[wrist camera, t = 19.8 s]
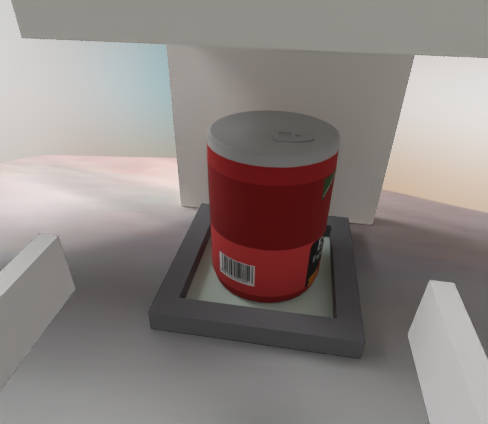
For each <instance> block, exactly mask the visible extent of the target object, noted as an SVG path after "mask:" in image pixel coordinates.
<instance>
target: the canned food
mask: <svg viewBox="0 0 488 424" xmlns="http://www.w3.org/2000/svg"><path fill="white" fill-rule="evenodd" d="M339 139H340V134H339V132H338V130H337V129H336V128H335V127H334V126H332V125H330V124H329V123H327V122H325V121H323V120H320V119H318V118H315V117H312V116H308V115H304V114H300V113H293V112H286V111H269V110H264V111H248V112H241V113H236V114H232V115H228V116H225V117H223V118H220V119H218V120H216V121H214V122H213V123H212V124H211V125H210V126H209V128H208V130H207V167H208V188H209V208H210V228H211V248H212V263H213V268H214V270H215V272H216V275H217V277H218V279H219V281H220V282H221V283H222V285H223V286H224V287H225V288H226V289H228V290H229V291H230V292H231V293H233V294H235V295H237V296H239V297H241V298H244V299H247V300H251V301H256V302H265V303H274V302H282V301H287V300H291V299H293V298H295V297H298V296H300V295H301V294H303V293H304V292H305V291H307V289H308V288H309V287H310V286H311V285H312V283H313V282H314V280H315V278H316V276H317V274H318V272H319V267H320V261H321V255H322V250H323V244H324V238H325V232H326V226H327V220H328V214H329V208H330V203H331V197H332V191H333V185H334V179H335V173H336V167H337V159H338V153H339V145H340V143H339Z"/></svg>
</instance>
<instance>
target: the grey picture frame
mask: <svg viewBox="0 0 488 424" xmlns="http://www.w3.org/2000/svg"><path fill="white" fill-rule="evenodd" d="M148 314H149V320H150V325H151V328H152V329H159V330H166V331H172V332H179V333H186V334H193V335H200V336H207V337H214V338H221V339H228V340H235V341H242V342H248V343H255V344H262V345H269V346H276V347H283V348H290V349H297V350H304V351H311V352H318V353H325V354H331V355H338V356H345V357H352V358H359V359H360V357H361V354H362V351H363V347H364V344H365V339H364V331H363V324H362V316H361V309H360V301H359V293H358V286H357V278H356V271H355V263H354V256H353V248H352V241H351V233H350V226H349V218H348V217H337V216H328V220H327V226H326V232H325V238H324V244H323V250H322V255H321V261H320V267H319V272H318V274H317V276H316V278H315V280H314V282H313V283H312V285H311V286H310V287H309V288H308V289H307V291H305V292H304V293H303V294H301V295H300V296H298V297H295V298H293V299H291V300H287V301H282V302H274V303H265V302H256V301H251V300H247V299H244V298H241V297H239V296H237V295H235V294H233V293H231V292H230V291H229V290H228V289H226V288H225V287H224V286H223V285H222V283H221V282H220V281H219V279H218V277H217V275H216V272H215V270H214V268H213V263H212V248H211V228H210V208H209V204H205V203H202V204H201V206H200V208H199V210H198V212H197V214H196V216H195V218H194V220H193V222H192V224H191V226H190V228H189V230H188V232H187V234H186V236H185V238H184V240H183V242H182V244H181V246H180V248H179V250H178V252H177V254H176V256H175V259H174V261H173V263H172V265H171V267H170V269H169V271H168V273H167V275H166V277H165V279H164V281H163V283H162V285H161V287H160V289H159V291H158V293H157V295H156V297H155V299H154V301H153V303H152V305H151V307H150V309H149V311H148Z"/></svg>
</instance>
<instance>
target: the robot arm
mask: <svg viewBox="0 0 488 424" xmlns="http://www.w3.org/2000/svg"><path fill="white" fill-rule="evenodd" d="M75 289H76V288H75V285H74V282H73V279H72V276H71V273H70V270H69V267H68V264H67V261H66V258H65V255H64V251H63V248H62V245H61V242H60V239H59V236H57V235H49V234H40V233H39V234H38V235H37V236H36V237H35V238H34V239H33V240H32V241H31V242H30V243H29V244H28V245H27V246H26V247H25V248H24V249H23V250H22V251H21V252H20V253H19V254H18V255H17V256H16V257H15V258H14V259H13V260H11V261H10V262H9V263H8V264H7V265H6V266H5V267H4V268H3V269H2V270H1V271H0V391H1V390H2V388H3V387H4V385H5V384H6V383H7V381H8V380H9V379H10V377H11V376H12V375H13V373H14V372H15V371H16V369H17V368H18V366H19V365H20V364H21V362H22V361H23V360H24V358H25V357H26V356H27V354H28V353H29V352H30V350H31V349H32V347H33V346H34V345H35V343H36V342H37V341H38V339H39V338H40V337H41V335H42V334H43V333H44V331H45V330H46V329H47V327H48V326H49V324H50V323H51V322H52V320H53V319H54V318H55V316H56V315H57V314H58V312H59V311H60V310H61V308H62V307H63V305H64V304H65V303H66V301H67V300H68V299H69V297H70V296H71V295H72V293H73V292H74V291H75ZM407 335H408V339H409V343H410V347H411V351H412V355H413V359H414V363H415V367H416V371H417V375H418V379H419V383H420V387H421V391H422V395H423V399H424V403H425V407H426V411H427V415H428V419H429V423H430V424H488V359H487V356H486V354H485V352H484V350H483V347H482V345H481V343H480V341H479V338H478V336H477V334H476V331H475V329H474V327H473V325H472V322H471V320H470V318H469V315H468V313H467V311H466V309H465V306H464V304H463V302H462V299H461V297H460V295H459V293H458V290H457V288H456V286H455V283H451V282H443V281H434V280H429V283H428V285H427V288H426V290H425V292H424V295H423V297H422V300H421V302H420V305H419V307H418V310H417V312H416V315H415V317H414V319H413V322H412V324H411V327H410V329H409V332H408V334H407Z"/></svg>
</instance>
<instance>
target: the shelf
mask: <svg viewBox="0 0 488 424" xmlns="http://www.w3.org/2000/svg"><path fill="white" fill-rule="evenodd" d="M11 1H12V4H13V8H14V11H15V15H16V18H17V22H18V25H19V29H20V33H21V36H22V38H33V39H56V40H80V41H104V42H127V43H128V42H129V43H150V44H166V45H167V56H168V67H169V78H170V89H171V99H172V110H173V121H174V131H175V141H176V153H177V164H178V175H179V186H180V197H181V206H187V207H197V208H200V206H201V204H202V203H205V204H209V188H208V167H207V130H208V128H209V126H210V125H211V124H212V123H213V122H214V121H216V120H218V119H220V118H223V117H225V116H228V115H232V114H236V113H241V112H248V111H264V110H269V111H286V112H293V113H300V114H304V115H308V116H312V117H315V118H318V119H320V120H323V121H325V122H327V123H329V124H330V125H332V126H334V127H335V128H336V129H337V130H338V132H339V134H340V139H339V143H340V145H339V153H338V159H337V167H336V173H335V179H334V185H333V191H332V197H331V203H330V208H329V214H328V216H337V217H348V218H349V223H358V224H368V225H373V221H374V217H375V213H376V209H377V205H378V201H379V197H380V193H381V189H382V185H383V181H384V177H385V173H386V169H387V165H388V160H389V157H390V152H391V149H392V144H393V140H394V136H395V132H396V128H397V124H398V120H399V116H400V112H401V108H402V104H403V99H404V96H405V92H406V87H407V84H408V80H409V76H410V72H411V67H412V63H413V59H414V55H430V56H453V57H477V58H488V0H11Z"/></svg>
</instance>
